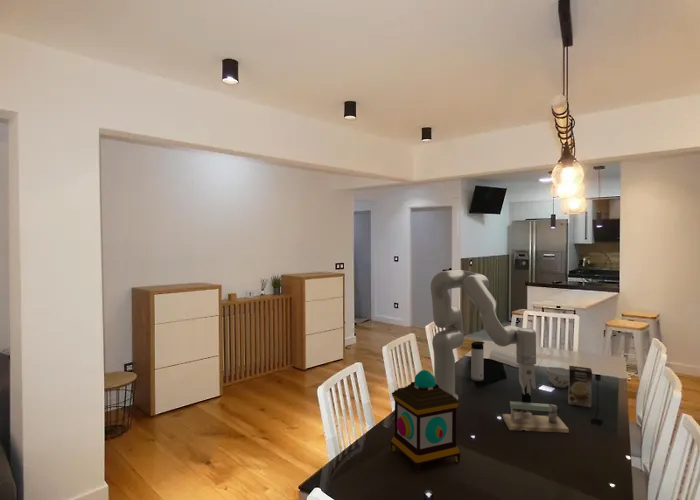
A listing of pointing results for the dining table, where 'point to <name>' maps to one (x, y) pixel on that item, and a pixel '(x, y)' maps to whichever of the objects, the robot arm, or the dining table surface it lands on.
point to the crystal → (504, 357)
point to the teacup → (558, 376)
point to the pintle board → (538, 423)
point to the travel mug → (477, 361)
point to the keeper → (533, 406)
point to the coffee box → (580, 386)
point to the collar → (521, 416)
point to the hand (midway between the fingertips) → (526, 403)
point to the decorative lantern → (425, 421)
